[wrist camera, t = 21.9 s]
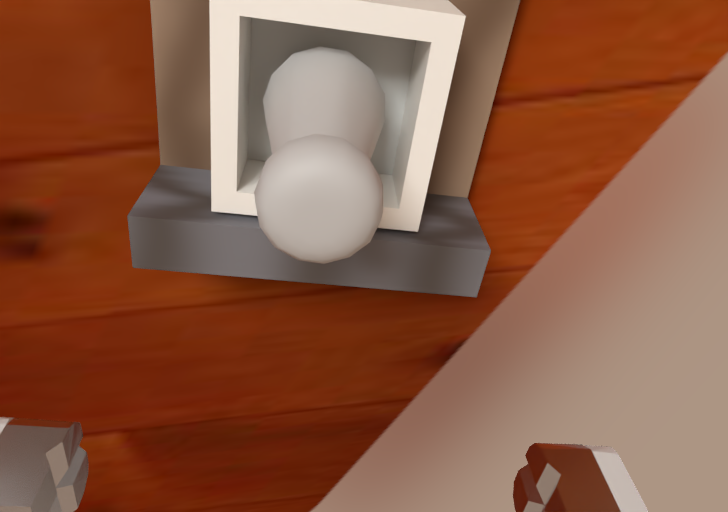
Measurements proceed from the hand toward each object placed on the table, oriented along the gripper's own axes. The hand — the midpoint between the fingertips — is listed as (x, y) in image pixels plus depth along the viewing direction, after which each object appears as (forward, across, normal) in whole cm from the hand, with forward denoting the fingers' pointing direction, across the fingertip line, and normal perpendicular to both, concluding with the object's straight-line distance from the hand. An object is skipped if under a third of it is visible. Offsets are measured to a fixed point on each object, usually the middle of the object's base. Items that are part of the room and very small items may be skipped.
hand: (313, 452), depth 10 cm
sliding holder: (+23, 0, 0) cm, 23 cm away
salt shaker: (+22, 0, 0) cm, 22 cm away
